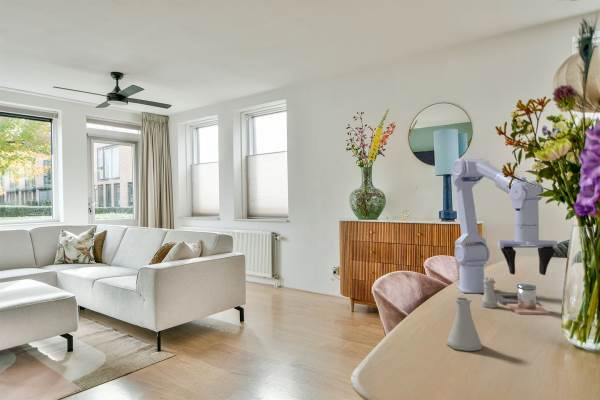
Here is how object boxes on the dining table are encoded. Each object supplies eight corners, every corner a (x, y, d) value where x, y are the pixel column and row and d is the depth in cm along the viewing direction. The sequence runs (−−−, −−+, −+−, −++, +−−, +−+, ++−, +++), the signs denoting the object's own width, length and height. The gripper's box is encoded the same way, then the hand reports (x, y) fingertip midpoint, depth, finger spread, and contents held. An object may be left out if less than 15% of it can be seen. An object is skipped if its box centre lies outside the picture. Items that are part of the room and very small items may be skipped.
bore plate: (491, 296, 124) (491, 293, 124) (526, 296, 122) (526, 294, 122) (502, 304, 114) (502, 301, 114) (539, 305, 112) (539, 302, 112)
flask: (442, 339, 88) (441, 294, 88) (476, 339, 87) (475, 294, 87) (450, 351, 81) (449, 303, 80) (487, 353, 80) (487, 303, 80)
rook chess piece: (500, 308, 110) (499, 280, 110) (483, 308, 111) (482, 279, 111) (495, 304, 114) (495, 277, 114) (479, 303, 115) (478, 276, 115)
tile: (507, 305, 113) (506, 303, 113) (537, 306, 111) (537, 304, 111) (517, 313, 105) (517, 311, 105) (550, 314, 104) (550, 312, 104)
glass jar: (514, 304, 111) (514, 283, 111) (532, 305, 111) (532, 284, 111) (520, 309, 107) (520, 287, 107) (539, 309, 106) (538, 287, 106)
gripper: (503, 226, 106) (503, 276, 106) (562, 225, 103) (563, 277, 103) (495, 224, 113) (495, 271, 113) (550, 223, 110) (551, 272, 110)
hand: (527, 274), depth 108 cm, fingers open, 7 cm apart
